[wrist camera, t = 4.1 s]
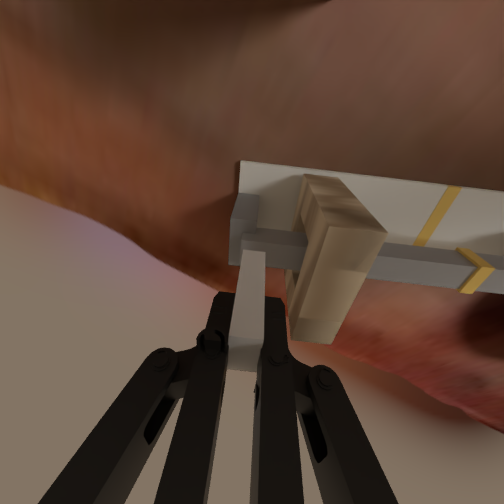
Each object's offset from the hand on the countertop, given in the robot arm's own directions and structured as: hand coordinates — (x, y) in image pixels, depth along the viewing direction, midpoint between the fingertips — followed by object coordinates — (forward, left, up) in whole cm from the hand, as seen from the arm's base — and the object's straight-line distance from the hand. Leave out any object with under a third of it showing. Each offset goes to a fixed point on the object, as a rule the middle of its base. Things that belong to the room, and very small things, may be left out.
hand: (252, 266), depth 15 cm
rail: (-13, 0, -9) cm, 16 cm away
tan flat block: (-5, 0, -8) cm, 9 cm away
